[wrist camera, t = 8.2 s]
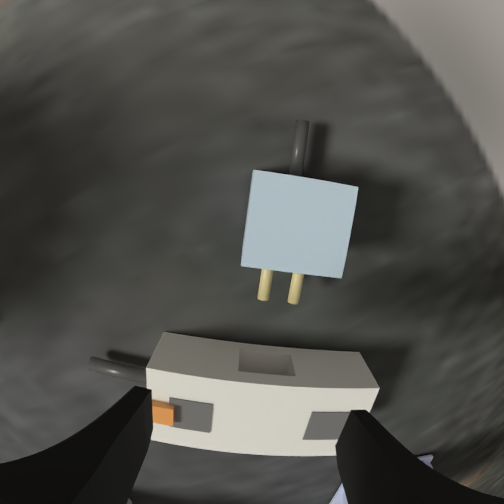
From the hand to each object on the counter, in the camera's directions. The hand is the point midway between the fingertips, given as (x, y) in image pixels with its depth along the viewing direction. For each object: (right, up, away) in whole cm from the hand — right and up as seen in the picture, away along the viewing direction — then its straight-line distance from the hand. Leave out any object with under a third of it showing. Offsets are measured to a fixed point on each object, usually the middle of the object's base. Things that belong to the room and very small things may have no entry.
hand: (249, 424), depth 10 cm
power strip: (-2, -2, +10) cm, 11 cm away
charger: (+2, +8, +8) cm, 11 cm away
